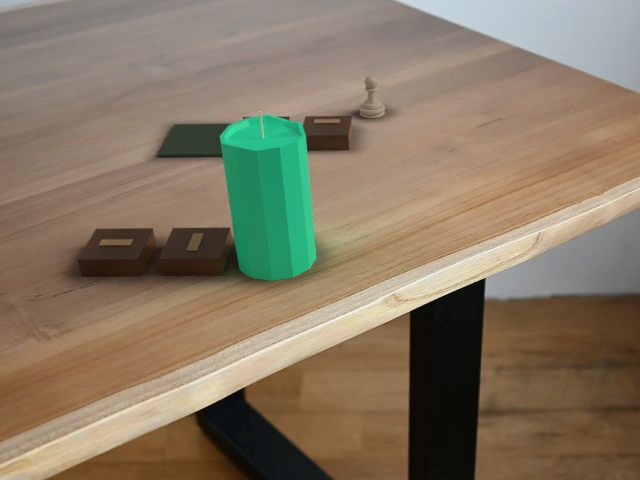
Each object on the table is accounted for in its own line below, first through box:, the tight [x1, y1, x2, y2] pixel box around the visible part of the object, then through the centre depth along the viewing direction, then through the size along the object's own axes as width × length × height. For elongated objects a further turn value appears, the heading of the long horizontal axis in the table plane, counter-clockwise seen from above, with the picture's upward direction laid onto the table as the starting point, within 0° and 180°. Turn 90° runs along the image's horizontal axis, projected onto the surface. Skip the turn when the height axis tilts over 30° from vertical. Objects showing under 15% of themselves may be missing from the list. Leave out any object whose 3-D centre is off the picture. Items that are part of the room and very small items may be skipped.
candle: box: [220, 110, 317, 282], centre depth 66 cm, size 6×6×12 cm
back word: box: [241, 115, 353, 151], centre depth 86 cm, size 10×4×2 cm, turn 89°
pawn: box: [358, 75, 386, 120], centre depth 90 cm, size 3×3×4 cm
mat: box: [157, 123, 232, 158], centre depth 87 cm, size 7×7×1 cm
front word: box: [77, 226, 234, 277], centre depth 69 cm, size 10×4×2 cm, turn 89°
